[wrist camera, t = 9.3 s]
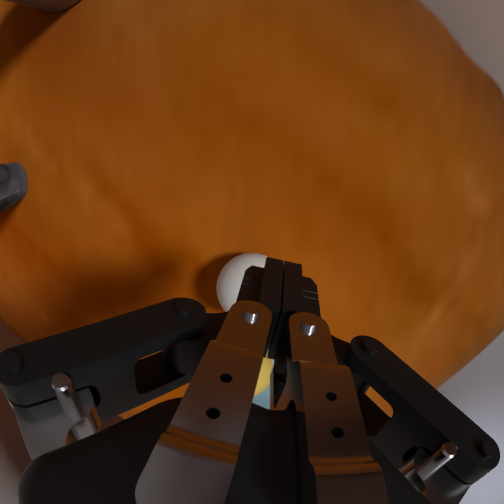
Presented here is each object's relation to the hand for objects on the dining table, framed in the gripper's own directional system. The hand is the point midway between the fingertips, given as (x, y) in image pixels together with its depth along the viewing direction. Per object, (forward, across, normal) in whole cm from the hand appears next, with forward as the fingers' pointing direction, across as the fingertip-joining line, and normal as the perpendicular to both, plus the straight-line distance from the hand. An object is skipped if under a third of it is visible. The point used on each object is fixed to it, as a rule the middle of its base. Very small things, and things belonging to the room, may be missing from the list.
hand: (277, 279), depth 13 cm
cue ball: (+9, +1, +6) cm, 11 cm away
